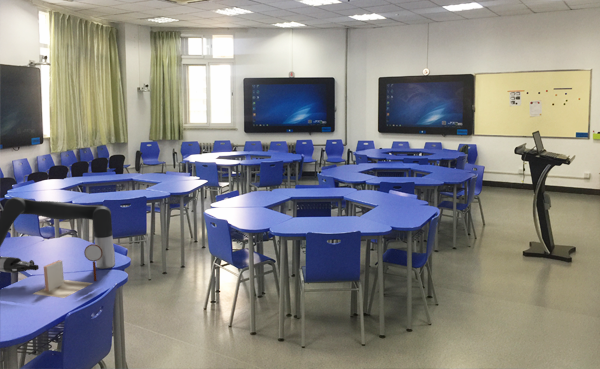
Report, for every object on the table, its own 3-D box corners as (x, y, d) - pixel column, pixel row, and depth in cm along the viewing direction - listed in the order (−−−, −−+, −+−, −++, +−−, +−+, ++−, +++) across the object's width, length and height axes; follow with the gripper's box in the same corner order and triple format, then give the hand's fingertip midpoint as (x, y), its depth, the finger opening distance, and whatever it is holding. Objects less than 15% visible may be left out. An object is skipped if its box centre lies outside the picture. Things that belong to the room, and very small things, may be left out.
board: (63, 281, 264) (62, 279, 263) (93, 285, 259) (93, 283, 258) (32, 295, 245) (32, 293, 244) (64, 299, 240) (64, 297, 239)
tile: (60, 283, 258) (58, 260, 256) (64, 284, 257) (62, 260, 255) (45, 290, 248) (43, 266, 246) (49, 291, 248) (47, 266, 246)
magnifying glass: (86, 283, 260) (83, 245, 257) (87, 282, 262) (84, 244, 259) (103, 283, 261) (101, 244, 258) (104, 282, 263) (102, 243, 260)
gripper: (-3, 261, 252) (26, 264, 247) (18, 253, 265) (46, 256, 260) (-2, 276, 253) (27, 279, 248) (20, 267, 266) (48, 270, 261)
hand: (37, 267), depth 254 cm, fingers closed
